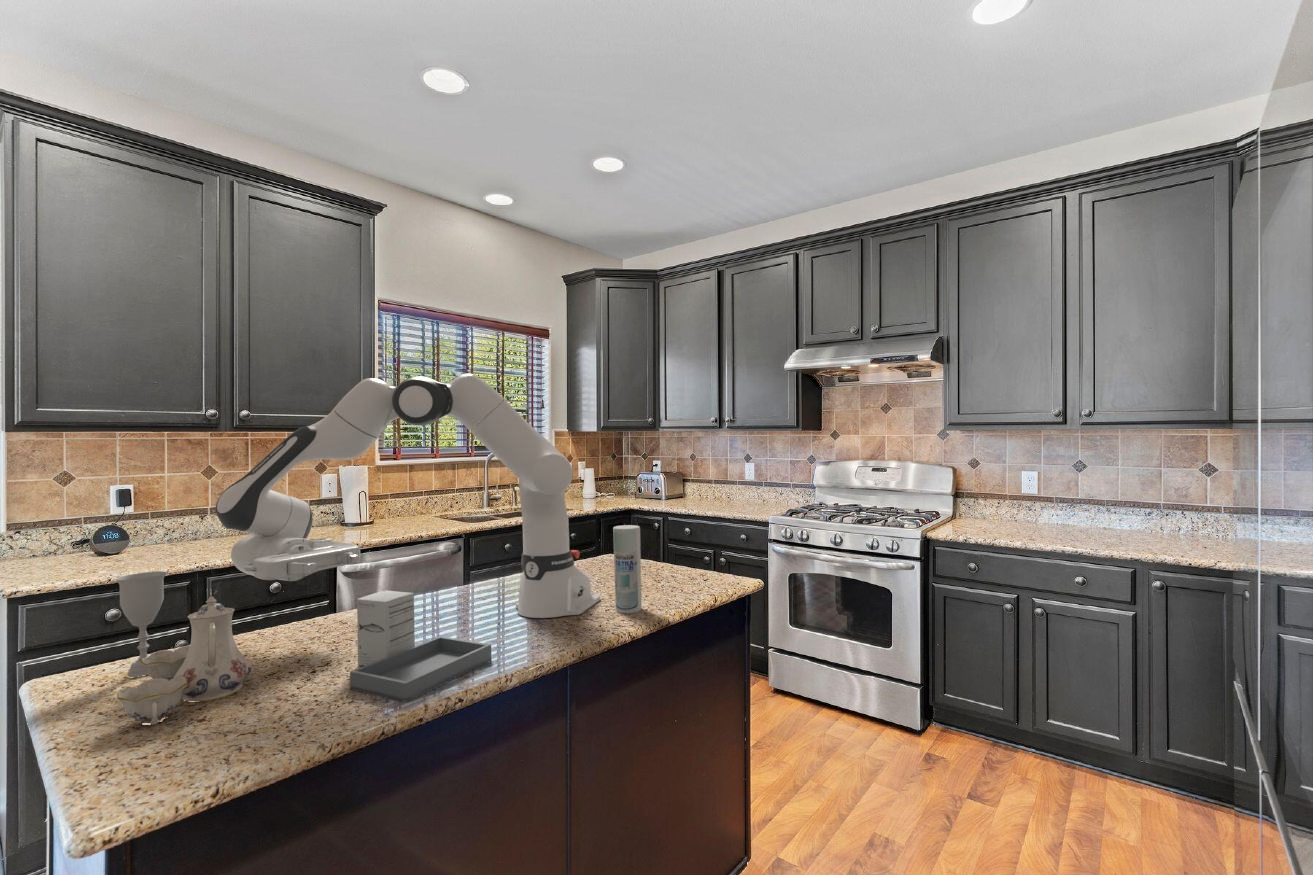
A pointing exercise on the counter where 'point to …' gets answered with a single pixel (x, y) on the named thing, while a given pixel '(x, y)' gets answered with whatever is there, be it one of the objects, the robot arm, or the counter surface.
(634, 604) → the spray can
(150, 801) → the counter surface
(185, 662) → the chinaware
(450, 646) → the tray
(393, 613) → the supplement box
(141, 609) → the chalice
